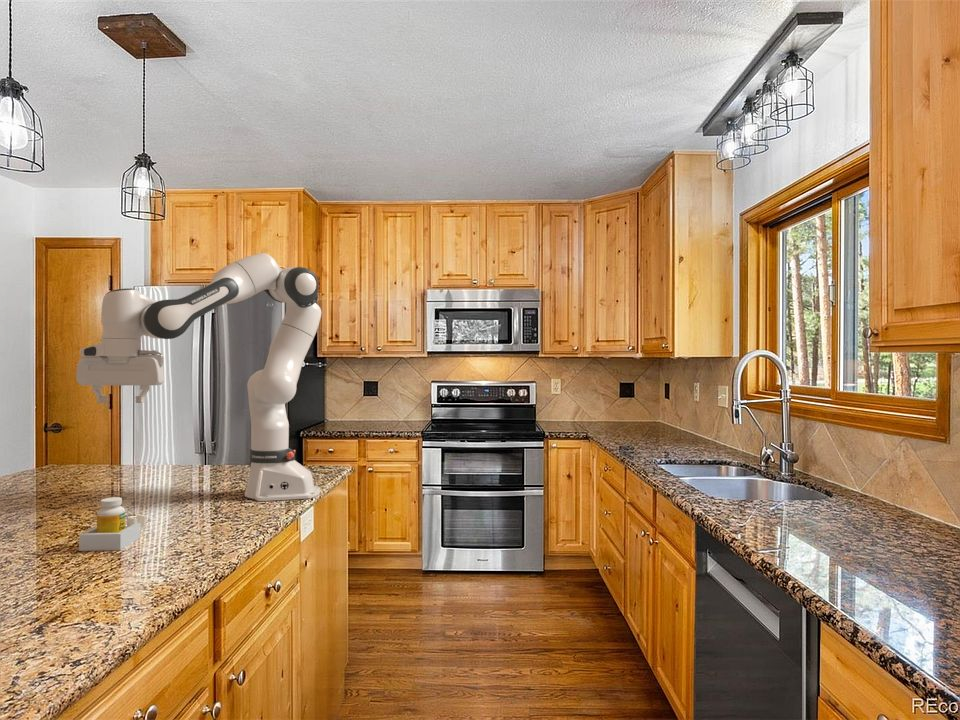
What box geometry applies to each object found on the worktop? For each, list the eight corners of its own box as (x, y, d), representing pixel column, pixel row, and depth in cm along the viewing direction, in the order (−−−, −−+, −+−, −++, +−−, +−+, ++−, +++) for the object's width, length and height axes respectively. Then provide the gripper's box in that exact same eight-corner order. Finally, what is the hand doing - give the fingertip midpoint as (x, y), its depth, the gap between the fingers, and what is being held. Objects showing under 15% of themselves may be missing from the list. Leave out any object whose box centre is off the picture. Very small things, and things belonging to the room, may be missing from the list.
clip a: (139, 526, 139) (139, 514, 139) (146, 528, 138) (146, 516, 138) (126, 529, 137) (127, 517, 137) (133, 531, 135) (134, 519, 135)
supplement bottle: (98, 539, 127) (99, 497, 127) (126, 536, 129) (127, 495, 129) (94, 546, 122) (94, 503, 122) (123, 543, 125) (123, 500, 125)
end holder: (140, 537, 130) (140, 522, 130) (120, 550, 122) (120, 534, 122) (101, 538, 130) (101, 523, 130) (78, 550, 121) (79, 534, 121)
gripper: (168, 350, 151) (168, 401, 151) (87, 350, 148) (87, 402, 149) (157, 350, 144) (157, 403, 144) (72, 349, 142) (72, 403, 142)
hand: (121, 402), depth 146 cm, fingers open, 8 cm apart
